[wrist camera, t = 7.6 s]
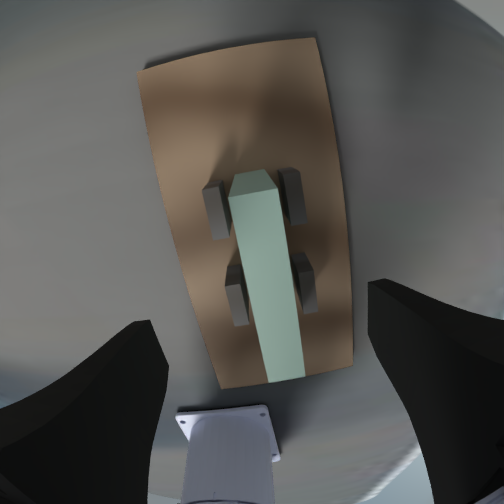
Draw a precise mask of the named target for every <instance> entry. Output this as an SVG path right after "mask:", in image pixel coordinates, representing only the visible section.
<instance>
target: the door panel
mask: <svg viewBox="0 0 504 504" xmlns="http://www.w3.org/2000/svg"><path fill="white" fill-rule="evenodd" d="M228 200H229V204H230V209H231V214H232V219H233V223H234V228H235V233H236V237H237V242H238V247H239V251H240V256H241V260H242V265H243V270H244V274H245V279H246V283H247V288H248V292H249V297H250V302H251V306H252V311H253V315H254V320H255V324H256V329H257V333H258V337H259V342H260V346H261V351H262V355H263V360H264V364H265V368H266V373H267V377H268V381H269V383H271V382H277V381H283V380H289V379H294V378H300V377H305V369H304V361H303V353H302V345H301V337H300V330H299V322H298V315H297V308H296V301H295V294H294V287H293V280H292V273H291V267H290V260H289V254H288V248H287V241H286V235H285V229H284V223H283V217H282V211H281V205H280V199H279V193H278V188H277V187H276V185H275V184H274V182H273V181H272V179H271V178H270V176H269V175H268V174H267V172H266V171H265V169H261V170H256V171H250V172H245V173H240V174H235V176H234V179H233V183H232V186H231V189H230V193H229V196H228Z"/></svg>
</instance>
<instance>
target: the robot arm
mask: <svg viewBox="0 0 504 504" xmlns="http://www.w3.org/2000/svg"><path fill="white" fill-rule="evenodd" d="M368 335H369V338H370V340H371V343H372V346H373V348H374V351H375V353H376V355H377V358H378V359H379V361H380V363H381V365H382V367H383V368H384V370H385V372H386V374H387V375H388V377H389V379H390V381H391V382H392V384H393V386H394V388H395V390H396V391H397V393H398V395H399V397H400V399H401V400H402V402H403V404H404V406H405V408H406V410H407V412H408V414H409V417H410V420H411V422H412V425H413V428H414V430H415V433H416V436H417V439H418V442H419V445H420V448H421V451H422V454H423V457H424V460H425V464H426V468H427V471H428V476H429V480H430V484H431V488H432V493H433V498H434V504H504V320H500V319H496V318H491V317H487V316H483V315H480V314H476V313H472V312H469V311H466V310H463V309H460V308H457V307H454V306H452V305H449V304H446V303H443V302H441V301H438V300H436V299H434V298H431V297H429V296H426V295H424V294H422V293H420V292H417V291H415V290H413V289H410V288H408V287H406V286H404V285H401V284H399V283H396V282H394V281H391V280H388V279H385V278H384V279H380V280H375V281H371V282H368ZM168 371H169V365H168V363H167V360H166V358H165V356H164V353H163V351H162V348H161V346H160V344H159V341H158V339H157V336H156V334H155V331H154V329H153V326H152V324H151V321H150V320H143V321H134V322H133V323H131V324H129V325H128V326H126V327H125V328H124V329H122V330H121V331H120V332H119V333H117V334H116V335H115V336H114V337H113V338H111V339H110V340H109V341H108V342H106V343H105V344H104V345H103V346H102V347H100V348H99V349H98V350H97V351H96V352H94V353H93V354H92V355H91V356H89V357H88V358H87V359H85V360H84V361H83V362H82V363H80V364H79V365H78V366H76V367H75V368H74V369H72V370H71V371H70V372H68V373H67V374H65V375H64V376H63V377H61V378H60V379H58V380H56V381H55V382H53V383H52V384H50V385H49V386H47V387H45V388H43V389H42V390H40V391H38V392H36V393H34V394H32V395H30V396H28V397H26V398H24V399H22V400H20V401H18V402H16V403H13V404H11V405H9V406H6V407H3V408H1V409H0V504H147V495H148V476H149V466H150V456H151V450H152V445H153V440H154V436H155V433H156V429H157V425H158V421H159V417H160V413H161V410H162V406H163V402H164V398H165V394H166V389H167V381H168ZM175 418H176V420H177V422H178V424H179V425H180V427H181V429H182V430H183V432H184V434H185V436H186V437H187V439H188V441H189V446H188V453H187V460H186V467H185V474H184V482H183V489H182V497H181V504H275V497H274V485H273V472H272V462H276V461H279V460H280V453H279V450H278V446H277V442H276V438H275V434H274V431H273V427H272V423H271V419H270V415H269V411H268V407H267V406H266V405H254V406H247V407H238V408H229V409H220V410H208V411H195V412H179V413H177V414H176V416H175ZM177 504H180V503H177Z"/></svg>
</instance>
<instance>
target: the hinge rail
mask: <svg viewBox="0 0 504 504" xmlns="http://www.w3.org/2000/svg"><path fill="white" fill-rule="evenodd" d="M137 78H138V84H139V89H140V95H141V100H142V106H143V111H144V116H145V121H146V126H147V131H148V136H149V141H150V146H151V150H152V155H153V159H154V164H155V168H156V173H157V177H158V181H159V185H160V190H161V194H162V198H163V202H164V206H165V210H166V214H167V217H168V221H169V225H170V229H171V233H172V236H173V240H174V244H175V247H176V251H177V254H178V258H179V261H180V265H181V268H182V272H183V275H184V279H185V282H186V285H187V289H188V292H189V295H190V298H191V302H192V305H193V308H194V311H195V314H196V317H197V320H198V324H199V327H200V330H201V333H202V336H203V339H204V342H205V345H206V348H207V350H208V353H209V356H210V359H211V362H212V365H213V368H214V370H215V373H216V376H217V379H218V382H219V384H220V387H221V389H228V388H236V387H244V386H251V385H258V384H265V383H269V381H268V377H267V373H266V368H265V364H264V360H263V355H262V351H261V346H260V342H259V337H258V333H257V329H256V324H255V320H254V315H253V311H252V306H251V302H250V297H249V292H248V288H247V283H246V279H245V274H244V270H243V265H242V260H241V256H240V251H239V247H238V242H237V237H236V233H235V228H234V223H233V219H232V214H231V209H230V204H229V200H228V196H229V193H230V189H231V186H232V183H233V179H234V176H235V174H240V173H245V172H250V171H256V170H261V169H265V171H266V172H267V174H268V175H269V176H270V178H271V179H272V181H273V182H274V184H275V185H276V187H277V188H278V193H279V199H280V205H281V211H282V217H283V223H284V229H285V235H286V241H287V248H288V254H289V260H290V267H291V273H292V280H293V287H294V294H295V301H296V308H297V315H298V322H299V330H300V337H301V345H302V353H303V361H304V369H305V376H310V375H315V374H319V373H324V372H329V371H333V370H337V369H342V368H346V367H350V366H353V323H352V293H351V273H350V258H349V245H348V233H347V222H346V212H345V203H344V194H343V186H342V178H341V170H340V163H339V156H338V149H337V143H336V137H335V131H334V125H333V119H332V114H331V108H330V103H329V98H328V93H327V88H326V83H325V78H324V73H323V69H322V64H321V60H320V56H319V51H318V47H317V43H316V39H315V37H314V38H300V39H288V40H279V41H270V42H263V43H256V44H249V45H243V46H237V47H232V48H226V49H221V50H216V51H211V52H207V53H202V54H198V55H194V56H190V57H186V58H182V59H178V60H175V61H171V62H167V63H164V64H161V65H157V66H154V67H151V68H148V69H144V70H141V71H138V72H137Z"/></svg>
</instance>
